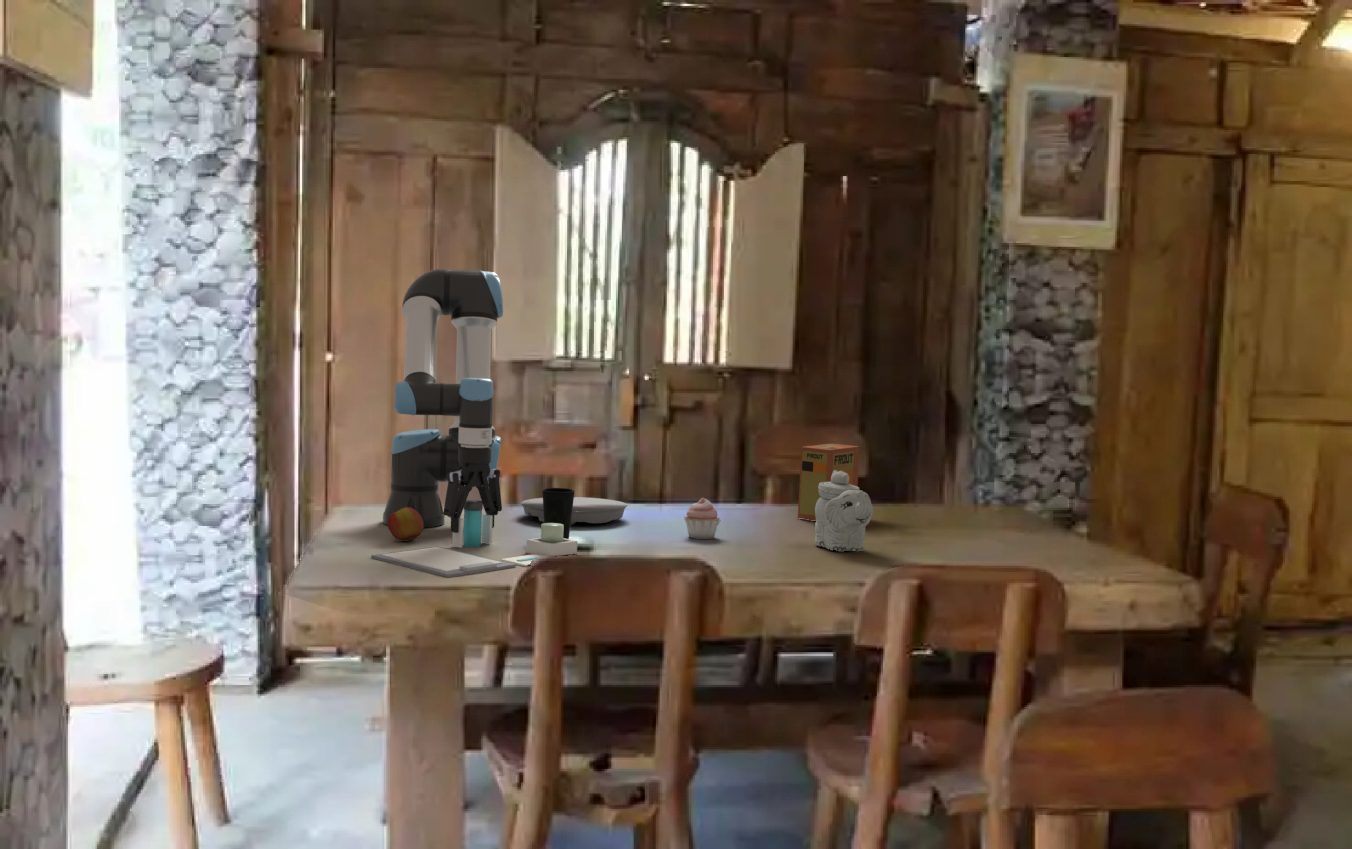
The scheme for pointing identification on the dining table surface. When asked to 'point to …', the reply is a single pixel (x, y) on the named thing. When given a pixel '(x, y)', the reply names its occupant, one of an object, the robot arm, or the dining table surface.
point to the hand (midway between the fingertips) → (472, 544)
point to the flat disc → (582, 509)
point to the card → (522, 559)
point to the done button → (552, 532)
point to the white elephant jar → (841, 514)
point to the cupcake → (702, 520)
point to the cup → (558, 507)
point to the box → (823, 472)
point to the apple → (405, 524)
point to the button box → (551, 547)
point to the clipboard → (443, 561)
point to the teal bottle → (472, 523)
